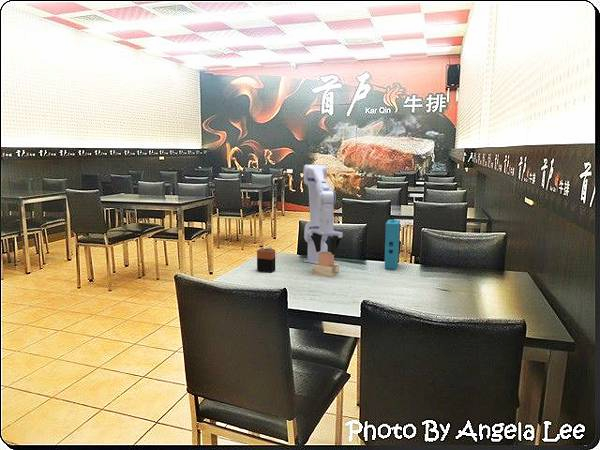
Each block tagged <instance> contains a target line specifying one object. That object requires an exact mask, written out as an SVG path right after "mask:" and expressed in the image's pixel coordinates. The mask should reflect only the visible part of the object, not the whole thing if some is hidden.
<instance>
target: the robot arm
mask: <svg viewBox="0 0 600 450" xmlns="http://www.w3.org/2000/svg"><path fill="white" fill-rule="evenodd" d="M327 172H328V169H327V165H326V164H324V163H323V164H305V165H303V173H302V174H303V183H304V185H306V186H307V188H308V201H309V204H308V205H309V217H310V218H309V221H308V222H307V223H306V224H305V225H304V231H303V234H304V235H303V238H304V241H305V242H306V243H307V259H304V260H303V262H305V263H310V264H313V265H315V264H318V255H319V253H321V252H325V251H326V252H329V251H328V248H329V247H328V244H327V243H326V241H327V240H328V237H329V239H330V245H331V253H332V255H334V256H335V255H336V254H337V250H338V247H339V244H340V243H341V241H342V239H343V231H336V230H334V216H335V215H334V214H335V213H334V212H335V211H334V209H335V208H334V207H335V204H336V201H337V199H336V198H337V195H336V191H335V189H331V186H330V183H329V181H328V180H326V177H327V174H328V173H327Z"/></svg>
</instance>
